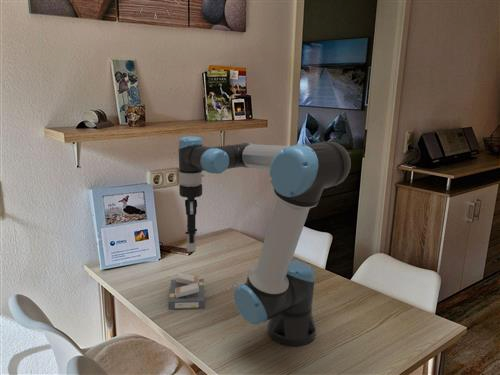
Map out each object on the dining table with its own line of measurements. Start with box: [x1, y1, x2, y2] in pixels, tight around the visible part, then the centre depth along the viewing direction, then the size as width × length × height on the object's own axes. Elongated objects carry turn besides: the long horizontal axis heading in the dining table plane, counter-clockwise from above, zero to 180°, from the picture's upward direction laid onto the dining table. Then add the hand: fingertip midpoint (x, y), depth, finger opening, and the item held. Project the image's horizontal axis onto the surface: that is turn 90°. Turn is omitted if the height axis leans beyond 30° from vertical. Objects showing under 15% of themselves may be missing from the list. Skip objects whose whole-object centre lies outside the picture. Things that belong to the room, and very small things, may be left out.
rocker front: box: [175, 282, 199, 298], centre depth 153 cm, size 4×8×2 cm, turn 97°
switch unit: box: [168, 278, 206, 311], centre depth 157 cm, size 16×12×4 cm
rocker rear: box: [175, 272, 200, 285], centre depth 161 cm, size 4×8×2 cm, turn 97°
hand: (191, 250), depth 152 cm, fingers closed
